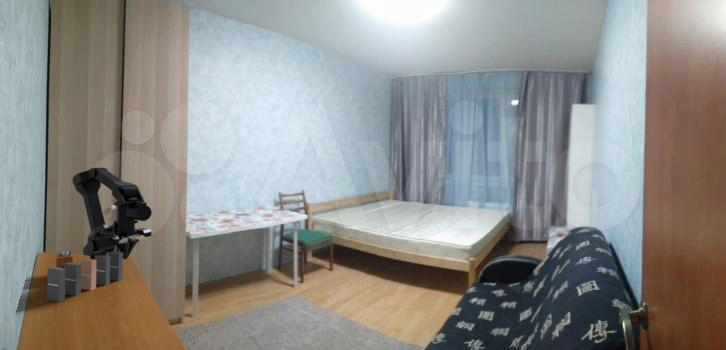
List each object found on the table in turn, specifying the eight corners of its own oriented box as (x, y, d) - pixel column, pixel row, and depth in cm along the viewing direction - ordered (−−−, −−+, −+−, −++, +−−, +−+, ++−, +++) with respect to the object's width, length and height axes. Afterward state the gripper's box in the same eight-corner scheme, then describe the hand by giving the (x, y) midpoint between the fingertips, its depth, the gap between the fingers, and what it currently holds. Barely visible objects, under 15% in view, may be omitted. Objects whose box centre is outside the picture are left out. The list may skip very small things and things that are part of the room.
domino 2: (69, 292, 116) (69, 262, 116) (80, 294, 115) (81, 263, 115) (63, 293, 115) (64, 263, 114) (75, 296, 113) (76, 265, 113)
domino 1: (52, 297, 111) (53, 266, 111) (64, 299, 110) (65, 268, 110) (46, 299, 110) (47, 267, 109) (59, 301, 109) (59, 269, 108)
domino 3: (84, 286, 121) (85, 258, 121) (95, 288, 120) (96, 259, 119) (79, 288, 120) (80, 259, 119) (91, 290, 118) (91, 261, 118)
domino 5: (111, 277, 131) (112, 251, 130) (122, 279, 130) (123, 252, 129) (107, 279, 129) (107, 252, 129) (118, 281, 128) (118, 253, 128)
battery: (55, 283, 123) (56, 255, 123) (57, 277, 128) (58, 250, 128) (72, 281, 126) (72, 253, 125) (73, 275, 131) (73, 249, 131)
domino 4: (98, 282, 126) (99, 254, 126) (109, 284, 125) (110, 256, 124) (94, 283, 124) (94, 255, 124) (105, 285, 123) (106, 257, 123)
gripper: (130, 212, 143) (129, 250, 144) (84, 219, 125) (83, 263, 126) (153, 215, 141) (152, 253, 141) (109, 222, 123) (108, 266, 123)
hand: (125, 259), depth 133 cm, fingers closed
